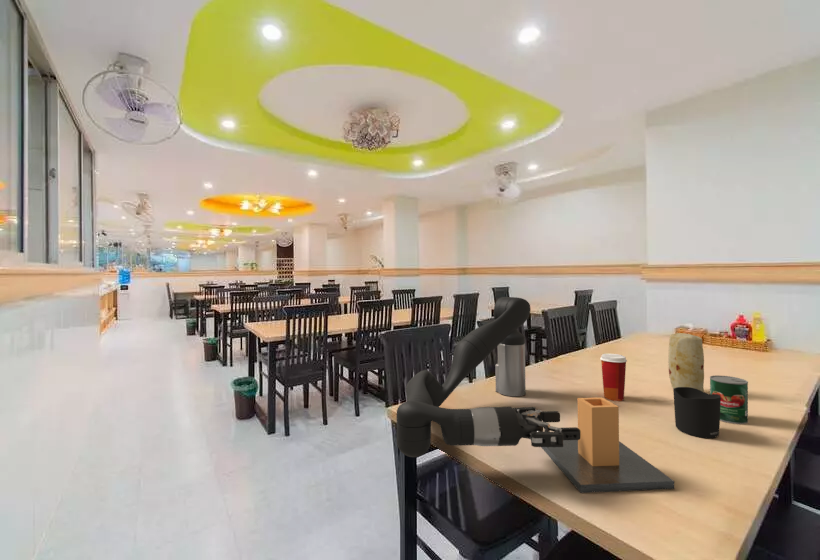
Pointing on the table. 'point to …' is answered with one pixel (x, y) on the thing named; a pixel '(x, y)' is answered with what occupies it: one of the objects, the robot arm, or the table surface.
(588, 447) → the tan rectangular holder
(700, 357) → the food model
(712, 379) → the canned tomato
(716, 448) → the table surface
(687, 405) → the pen holder
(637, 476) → the shaft stand
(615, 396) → the paper cup
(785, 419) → the table surface
